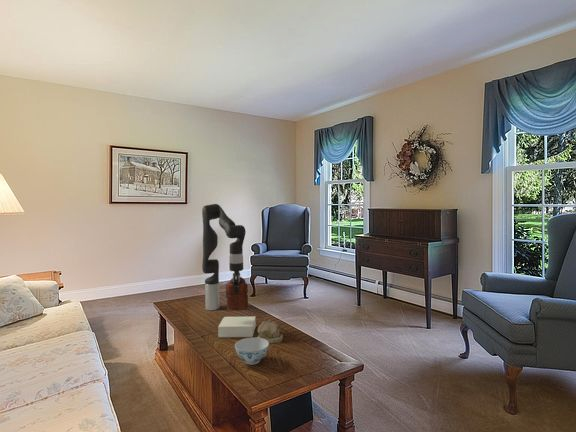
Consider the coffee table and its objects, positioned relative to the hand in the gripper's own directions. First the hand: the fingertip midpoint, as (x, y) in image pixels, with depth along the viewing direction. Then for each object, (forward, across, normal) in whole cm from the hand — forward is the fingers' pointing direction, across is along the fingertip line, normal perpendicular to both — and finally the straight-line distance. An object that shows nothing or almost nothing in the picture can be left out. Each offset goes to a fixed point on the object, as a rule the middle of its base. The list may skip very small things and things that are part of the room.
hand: (236, 291), depth 185 cm
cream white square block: (+22, 0, 0) cm, 22 cm away
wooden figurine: (+10, 0, 0) cm, 10 cm away
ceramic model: (+22, +13, +17) cm, 31 cm away
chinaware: (+22, +37, +8) cm, 44 cm away
